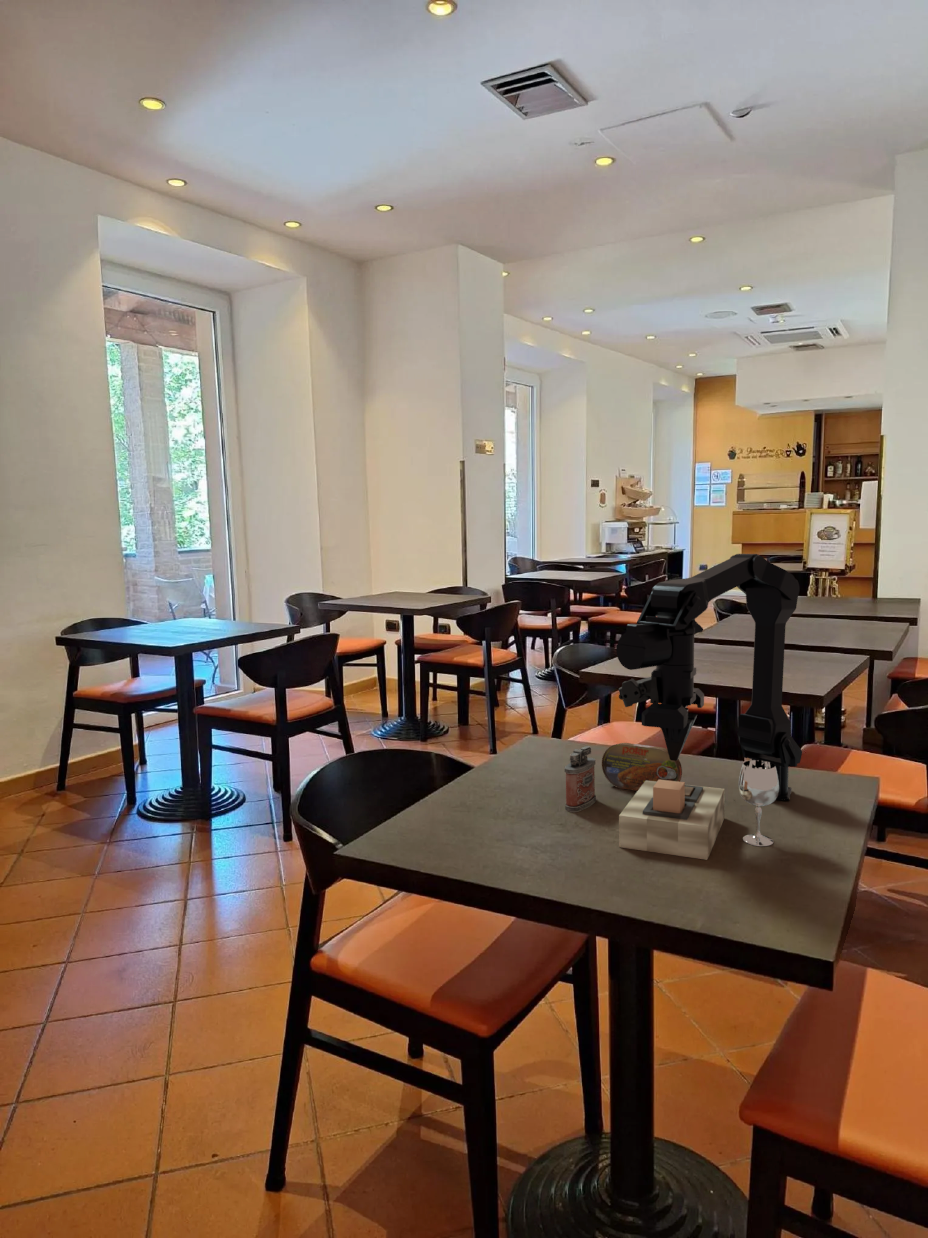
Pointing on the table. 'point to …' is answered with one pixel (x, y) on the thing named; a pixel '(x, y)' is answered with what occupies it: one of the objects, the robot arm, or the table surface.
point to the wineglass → (758, 793)
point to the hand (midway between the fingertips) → (673, 760)
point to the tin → (638, 765)
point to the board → (673, 823)
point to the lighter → (580, 780)
